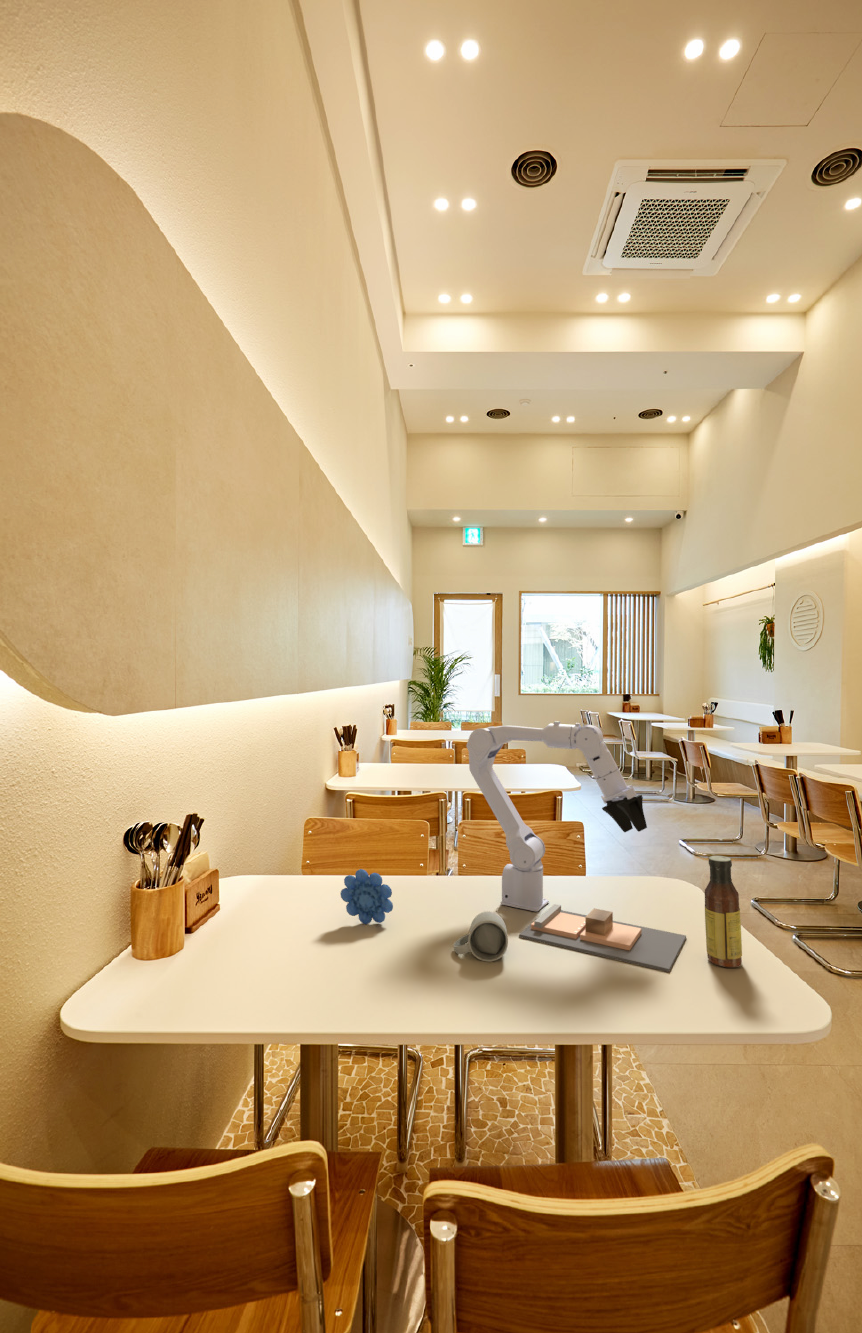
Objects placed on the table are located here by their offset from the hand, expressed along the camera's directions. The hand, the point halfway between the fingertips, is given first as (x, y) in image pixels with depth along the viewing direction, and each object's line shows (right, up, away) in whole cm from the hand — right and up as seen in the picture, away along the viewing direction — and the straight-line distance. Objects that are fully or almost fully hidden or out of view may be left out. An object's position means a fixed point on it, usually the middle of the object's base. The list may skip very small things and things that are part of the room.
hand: (635, 830), depth 141 cm
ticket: (-18, -20, -5) cm, 27 cm away
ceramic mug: (-36, -20, -17) cm, 45 cm away
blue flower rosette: (-60, -20, -3) cm, 64 cm away
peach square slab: (-8, -20, -10) cm, 24 cm away
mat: (-10, -20, -9) cm, 24 cm away
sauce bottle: (+10, -20, -20) cm, 31 cm away
